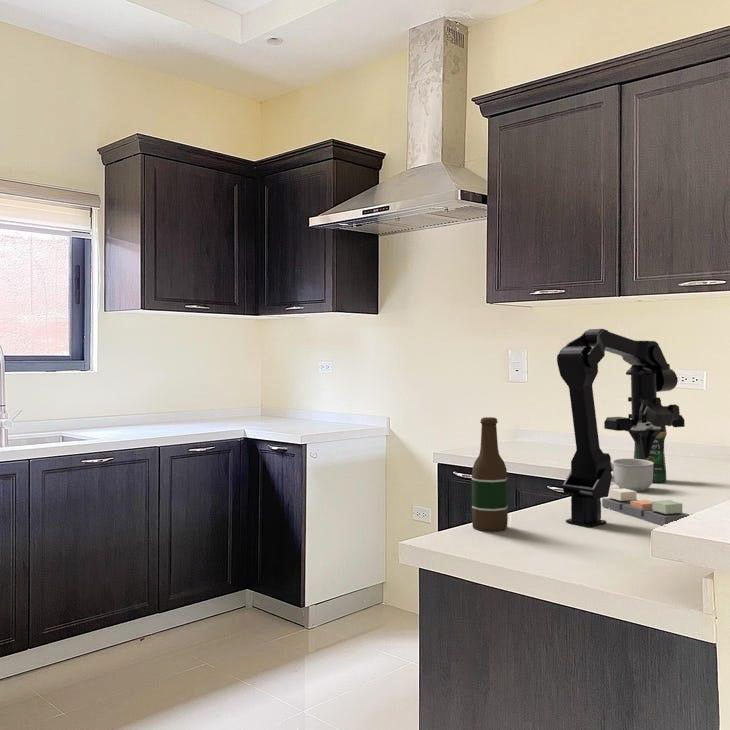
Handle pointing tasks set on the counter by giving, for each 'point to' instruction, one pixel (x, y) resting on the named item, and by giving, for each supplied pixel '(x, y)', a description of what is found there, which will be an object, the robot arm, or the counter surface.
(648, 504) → the terracotta button
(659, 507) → the sage button
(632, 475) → the teacup
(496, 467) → the beer bottle
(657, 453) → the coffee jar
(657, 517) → the button bank
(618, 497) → the cream button
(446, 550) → the counter surface
